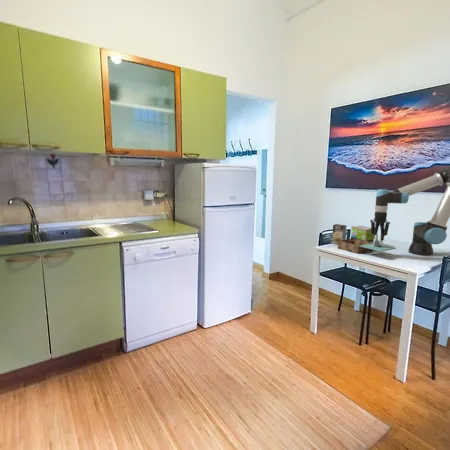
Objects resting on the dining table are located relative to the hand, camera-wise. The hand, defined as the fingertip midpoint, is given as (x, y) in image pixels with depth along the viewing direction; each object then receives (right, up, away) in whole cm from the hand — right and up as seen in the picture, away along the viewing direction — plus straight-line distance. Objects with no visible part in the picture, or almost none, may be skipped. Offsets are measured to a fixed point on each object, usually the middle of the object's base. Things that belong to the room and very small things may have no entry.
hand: (378, 244), depth 201 cm
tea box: (+5, -3, +34) cm, 35 cm away
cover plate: (0, -3, 0) cm, 3 cm away
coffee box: (-14, -2, +37) cm, 39 cm away
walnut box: (-9, -5, +17) cm, 20 cm away
